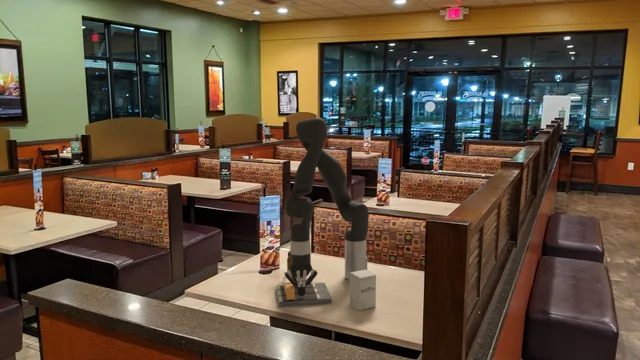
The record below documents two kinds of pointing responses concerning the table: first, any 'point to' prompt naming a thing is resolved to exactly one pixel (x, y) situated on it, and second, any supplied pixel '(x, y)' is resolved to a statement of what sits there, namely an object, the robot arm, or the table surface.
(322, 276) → the table surface
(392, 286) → the table surface
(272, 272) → the table surface
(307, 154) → the robot arm
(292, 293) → the block
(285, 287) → the block
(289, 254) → the condiment
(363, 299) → the supplement box
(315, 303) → the panel
